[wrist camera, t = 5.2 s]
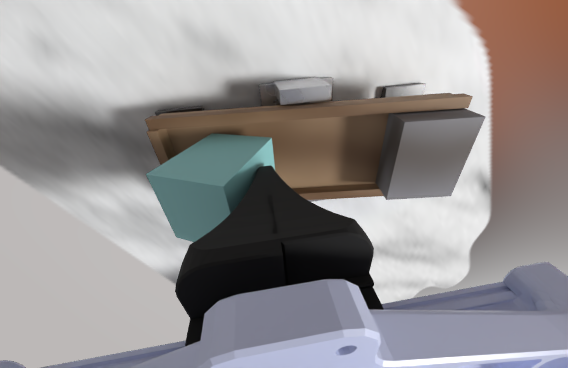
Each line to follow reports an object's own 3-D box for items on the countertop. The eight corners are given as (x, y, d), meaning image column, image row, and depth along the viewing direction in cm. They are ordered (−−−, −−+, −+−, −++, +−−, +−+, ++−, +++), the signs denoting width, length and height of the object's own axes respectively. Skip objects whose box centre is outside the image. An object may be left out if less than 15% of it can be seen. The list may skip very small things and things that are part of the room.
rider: (277, 194, 15) (241, 254, 11) (225, 186, 16) (176, 237, 12) (271, 137, 12) (223, 186, 8) (212, 133, 14) (145, 174, 10)
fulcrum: (400, 166, 20) (423, 185, 18) (189, 195, 19) (180, 220, 16) (425, 66, 16) (461, 71, 13) (151, 93, 14) (129, 105, 12)
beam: (416, 173, 18) (446, 204, 14) (193, 187, 18) (174, 219, 15) (443, 87, 14) (491, 102, 11) (165, 107, 15) (131, 127, 11)
